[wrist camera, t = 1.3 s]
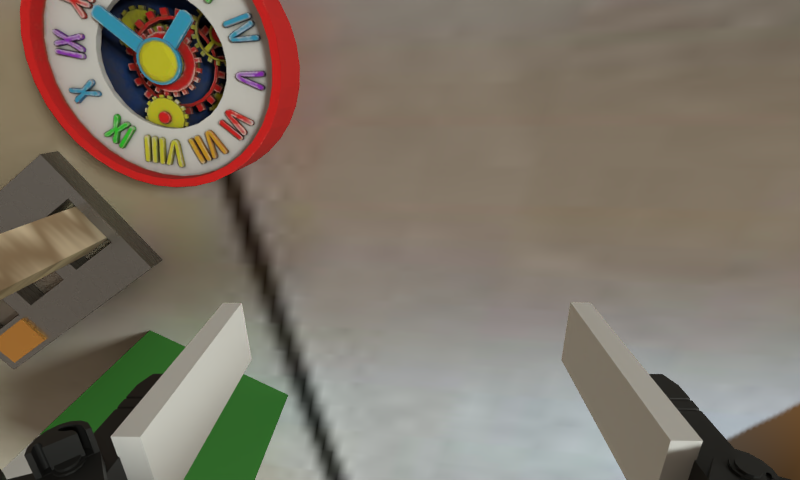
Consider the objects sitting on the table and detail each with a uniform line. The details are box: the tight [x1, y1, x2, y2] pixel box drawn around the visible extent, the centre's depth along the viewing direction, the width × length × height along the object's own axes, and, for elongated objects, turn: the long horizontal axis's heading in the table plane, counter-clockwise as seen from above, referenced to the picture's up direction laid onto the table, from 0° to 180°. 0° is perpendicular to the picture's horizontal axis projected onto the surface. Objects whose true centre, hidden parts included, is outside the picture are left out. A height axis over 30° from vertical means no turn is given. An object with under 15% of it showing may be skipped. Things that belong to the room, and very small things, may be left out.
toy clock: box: [20, 0, 300, 187], centre depth 34 cm, size 20×6×20 cm
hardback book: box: [1, 331, 288, 480], centre depth 38 cm, size 18×7×24 cm, turn 59°
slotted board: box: [0, 151, 162, 369], centre depth 43 cm, size 14×23×2 cm, turn 125°
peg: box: [0, 206, 108, 300], centre depth 36 cm, size 4×4×14 cm
